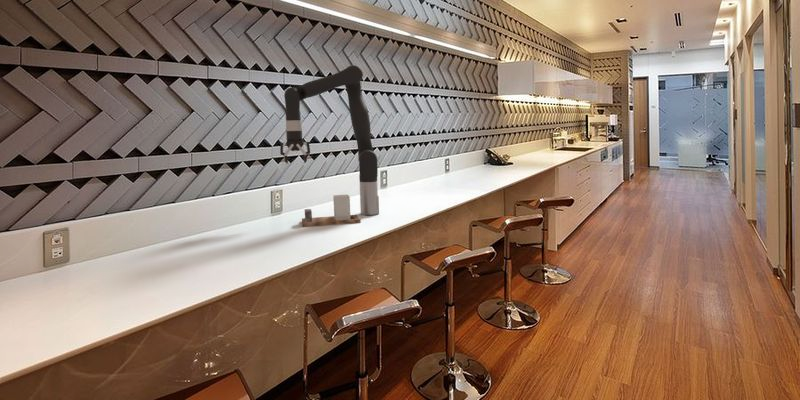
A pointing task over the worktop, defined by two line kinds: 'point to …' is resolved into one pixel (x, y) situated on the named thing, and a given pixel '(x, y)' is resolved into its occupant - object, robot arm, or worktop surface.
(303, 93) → the robot arm
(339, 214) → the supplement box
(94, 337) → the worktop surface
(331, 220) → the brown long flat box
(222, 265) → the worktop surface
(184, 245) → the worktop surface
